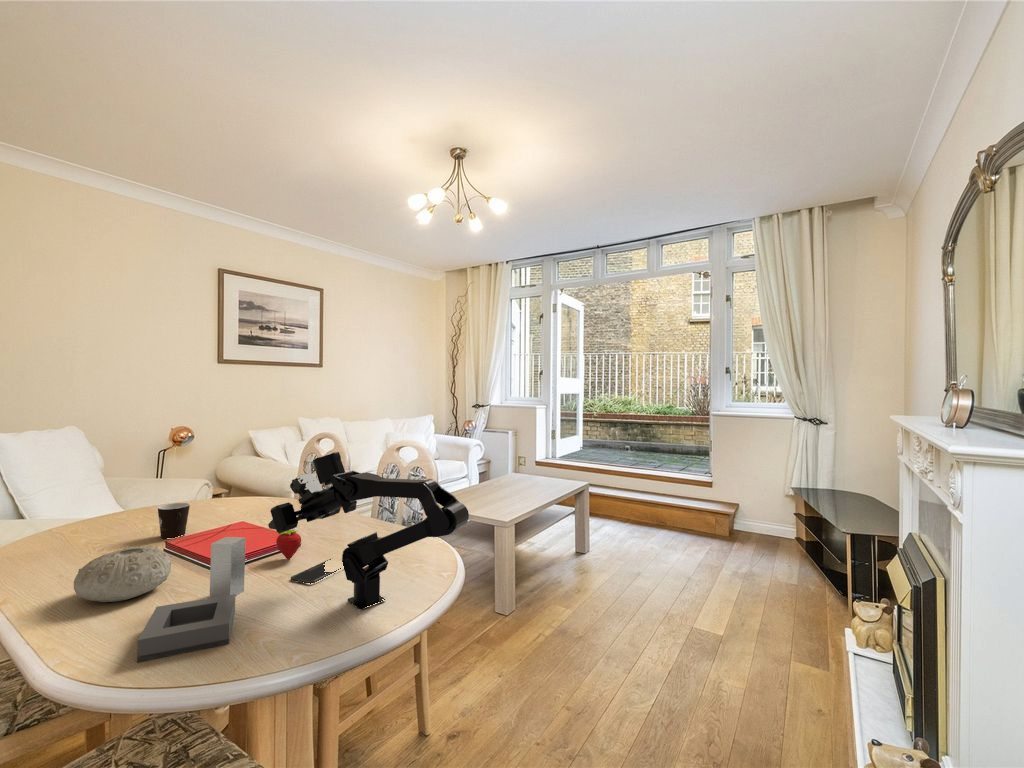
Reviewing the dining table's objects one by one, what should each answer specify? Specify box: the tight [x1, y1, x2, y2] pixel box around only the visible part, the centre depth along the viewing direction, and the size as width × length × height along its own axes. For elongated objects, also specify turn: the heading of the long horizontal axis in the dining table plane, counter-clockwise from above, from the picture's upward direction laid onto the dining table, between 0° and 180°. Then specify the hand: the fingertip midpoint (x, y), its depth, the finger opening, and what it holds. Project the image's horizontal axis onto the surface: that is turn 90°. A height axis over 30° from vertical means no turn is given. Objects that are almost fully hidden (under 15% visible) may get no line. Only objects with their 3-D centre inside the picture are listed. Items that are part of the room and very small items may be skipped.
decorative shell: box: [73, 546, 172, 603], centre depth 108 cm, size 18×18×10 cm
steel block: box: [209, 536, 246, 598], centre depth 108 cm, size 5×5×13 cm
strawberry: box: [275, 528, 302, 560], centre depth 132 cm, size 6×8×10 cm
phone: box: [290, 558, 341, 584], centre depth 123 cm, size 8×1×15 cm
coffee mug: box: [157, 502, 191, 540], centre depth 149 cm, size 12×9×10 cm
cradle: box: [136, 594, 237, 663], centre depth 91 cm, size 14×14×4 cm
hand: (284, 521), depth 115 cm, fingers open, 9 cm apart
